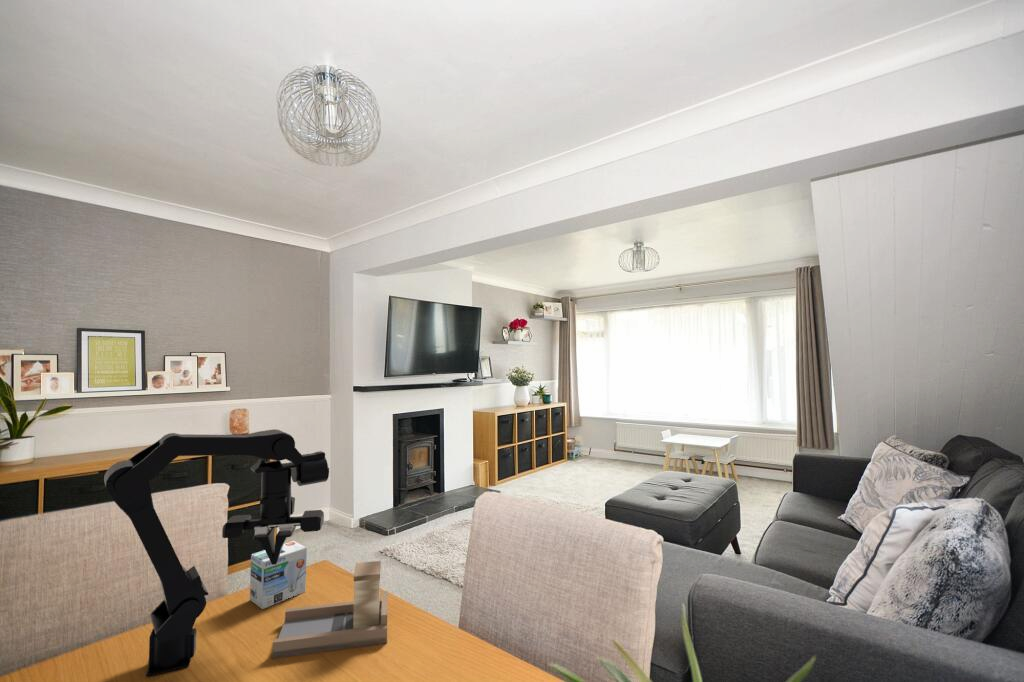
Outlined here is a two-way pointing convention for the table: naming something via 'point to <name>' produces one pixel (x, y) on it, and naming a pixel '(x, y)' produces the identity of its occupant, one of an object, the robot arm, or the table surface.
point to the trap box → (327, 629)
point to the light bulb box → (278, 575)
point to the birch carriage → (366, 594)
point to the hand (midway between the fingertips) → (274, 563)
